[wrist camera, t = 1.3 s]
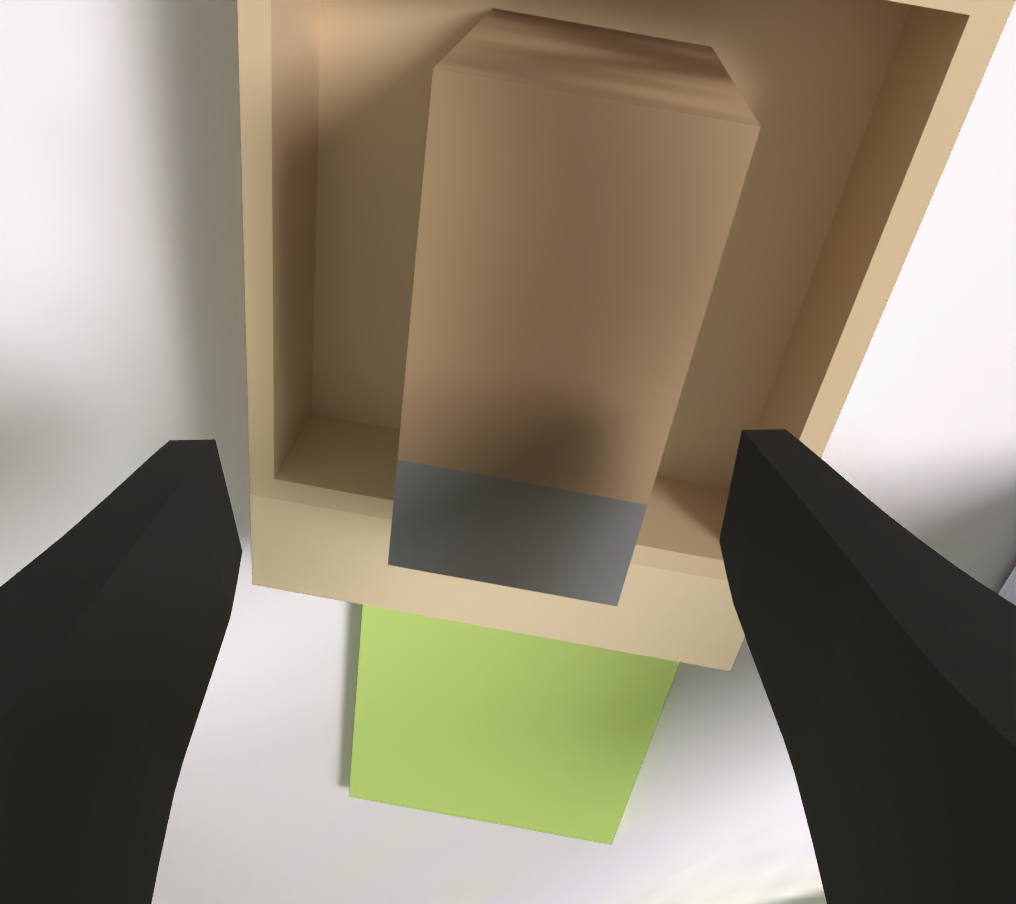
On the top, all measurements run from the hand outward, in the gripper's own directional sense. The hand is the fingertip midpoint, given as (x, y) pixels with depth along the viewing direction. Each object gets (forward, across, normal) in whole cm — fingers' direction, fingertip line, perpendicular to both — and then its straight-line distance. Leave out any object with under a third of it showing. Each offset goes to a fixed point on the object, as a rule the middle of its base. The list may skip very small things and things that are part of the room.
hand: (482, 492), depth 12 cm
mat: (+9, -1, +17) cm, 19 cm away
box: (+10, -2, 0) cm, 10 cm away
